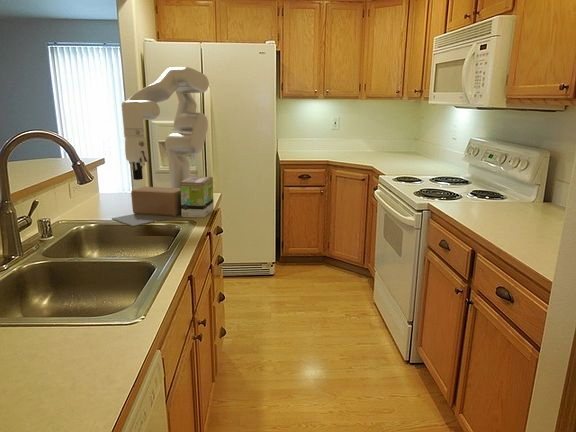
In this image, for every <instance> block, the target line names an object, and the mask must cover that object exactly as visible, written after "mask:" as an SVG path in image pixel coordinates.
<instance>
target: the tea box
mask: <svg viewBox="0 0 576 432" xmlns="http://www.w3.org/2000/svg"><path fill="white" fill-rule="evenodd" d="M180 185H181V215H182V216H181V217H182V218H203V219H204V218H206V216H207V215H208V214H210V213H211V212H212V211H214V209H215V206H214V205H215V203H214V177H212V176H190V178H188V179H185V180H183V181H181V182H180Z"/></svg>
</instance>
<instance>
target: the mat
mask: <svg viewBox="0 0 576 432" xmlns="http://www.w3.org/2000/svg"><path fill="white" fill-rule="evenodd" d="M179 217H182V213H181V214H179V215H177V216H163V215H148V214H135V213H132V214H126V215H122V216H118V217H112V218H111V220H113V221H116V222H118V223H121V224H124V225H127V226H130V227H137V226H142V225H146V224H151V222H152V223H155V221H157V222H160V220H161V221H166V220H170V219H174V218H179ZM165 219H166V220H165Z"/></svg>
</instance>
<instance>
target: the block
mask: <svg viewBox="0 0 576 432" xmlns="http://www.w3.org/2000/svg"><path fill="white" fill-rule="evenodd" d="M130 194H131V204H132V205H131V206H132V207H131V208H132V214H148V215H163V216H177V215H179V214H181V215H182V213H181V188H170V187H159V186H142V187H138V188H136V189H133V190H131V193H130Z"/></svg>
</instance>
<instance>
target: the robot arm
mask: <svg viewBox="0 0 576 432" xmlns="http://www.w3.org/2000/svg"><path fill="white" fill-rule="evenodd" d="M209 81H210V80H209V79H208V77H207V76H206V74H204V73H202V72H201V71H199V70H196V69H195V68H192V67H189V66H173V67H172V66H171V67H168V68H166V69H165V70H164V71H163V72H162V73H161V75H159V77H158V78H156V79H155V81H154V82H153V83H151V84H149V85H147V86H145V87H143V88H142V89H139V90H137V91H136V92H134V93H133V94H132V95H131V96H130V97H129V98H128V99H127V100H124V101H123V102H122V103H121V112H122V113H121V114H122V124H123V135H124V136H123V137H124V140H125V141H124V148H125V149H124V152H125V153H124V154H125V158H126V160H127V161H128V164H129V165H130V166H131V170H132V176H133V180H135V181H141V180H143V179H144V178H143V167H144V166H146V163H147V162H149V150H148V145H147V144H148V143H147V140H146V138H145V125H144V124H145V123H144V120H146V121H147V120H148V121H149V120H155V119H157V118H158V117H159V116H160V114H161V109H160V106H159V104H158V103H161V102H165V101H168V99H169V98H171V97H172V95H173V94H174V93H176V96H177V99H178V100H177V101H178V104H177V108H176V113H175V116H174V120H173V128H174V130H175V131H176V133H175V132H173V133H170V134H168V135H167V136H166V137H165V140H164V146H165V150H166V155H167V161H168V173H169V188H181V185H180V182H181V181H183V180H185V179H188V178H190V177H191V165H190V161H189V159H188V157H187V155H188V156H190V155H191V156H192V155H194V156H195V155H200V154H201V153H202V152H203V149H204V146H205V141H206V137H207V133H208V128H209V127H208V126H209V122H208V117H207V116H206V115H205V114H204V113H202V112H198V111H197V106H198V105H197V102H196V100H195V99H194V97H193V95H192V94H200V93H201V94H202V93H206V92H207V91H208V90H209V85H210V82H209Z"/></svg>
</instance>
